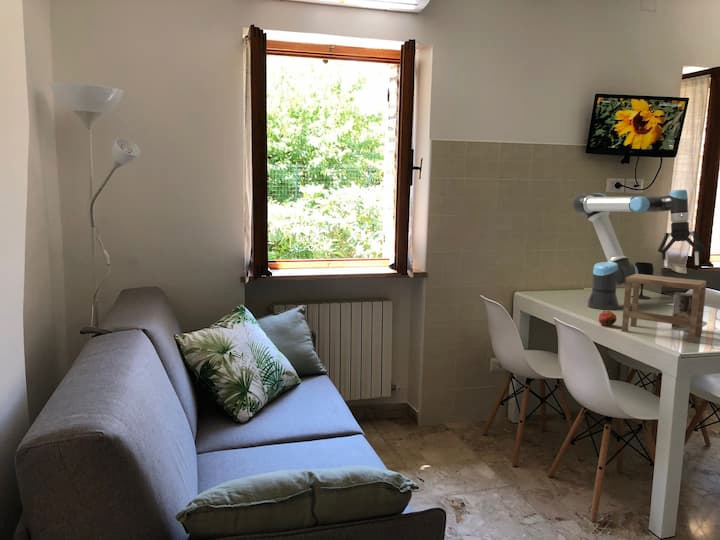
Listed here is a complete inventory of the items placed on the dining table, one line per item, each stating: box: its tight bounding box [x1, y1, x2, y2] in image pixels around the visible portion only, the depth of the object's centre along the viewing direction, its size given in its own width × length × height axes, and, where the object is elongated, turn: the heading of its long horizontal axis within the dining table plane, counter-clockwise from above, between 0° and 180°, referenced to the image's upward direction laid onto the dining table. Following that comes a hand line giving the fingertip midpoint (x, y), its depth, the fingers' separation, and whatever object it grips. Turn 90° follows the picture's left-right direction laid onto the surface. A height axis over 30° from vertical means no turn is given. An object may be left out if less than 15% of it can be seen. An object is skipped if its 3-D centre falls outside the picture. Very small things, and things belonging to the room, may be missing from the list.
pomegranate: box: [598, 309, 617, 328], centre depth 262 cm, size 7×7×10 cm
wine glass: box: [631, 261, 654, 300], centre depth 330 cm, size 10×10×20 cm
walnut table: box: [621, 274, 708, 344], centre depth 248 cm, size 15×28×24 cm, turn 49°
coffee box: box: [670, 292, 693, 332], centre depth 257 cm, size 9×6×16 cm
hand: (681, 265), depth 279 cm, fingers open, 13 cm apart
